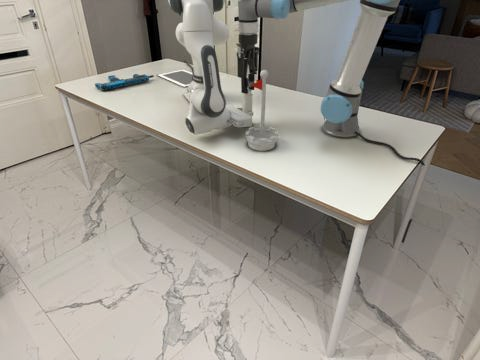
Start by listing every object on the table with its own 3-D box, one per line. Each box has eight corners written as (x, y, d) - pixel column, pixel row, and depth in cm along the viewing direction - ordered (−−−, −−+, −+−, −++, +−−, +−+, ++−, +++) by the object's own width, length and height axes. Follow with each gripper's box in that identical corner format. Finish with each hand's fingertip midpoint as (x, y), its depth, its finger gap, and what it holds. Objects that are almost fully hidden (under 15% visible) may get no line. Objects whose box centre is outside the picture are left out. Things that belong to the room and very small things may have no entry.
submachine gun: (139, 68, 225) (158, 74, 208) (140, 74, 226) (158, 80, 210) (87, 78, 206) (103, 86, 189) (89, 84, 208) (104, 92, 191)
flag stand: (269, 135, 146) (272, 63, 129) (283, 148, 135) (289, 72, 119) (241, 140, 142) (241, 67, 125) (253, 154, 132) (254, 76, 115)
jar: (243, 122, 157) (243, 88, 148) (252, 123, 157) (253, 88, 148) (241, 126, 154) (241, 91, 145) (250, 127, 153) (251, 92, 144)
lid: (243, 87, 142) (243, 82, 141) (240, 84, 147) (240, 79, 145) (255, 86, 144) (255, 81, 142) (251, 83, 148) (251, 78, 147)
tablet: (157, 75, 221) (157, 74, 221) (183, 69, 232) (183, 69, 232) (184, 87, 201) (183, 86, 200) (211, 80, 212) (211, 79, 211)
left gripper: (235, 118, 137) (262, 111, 143) (210, 103, 151) (236, 97, 157) (235, 133, 140) (262, 125, 146) (211, 117, 155) (236, 110, 161)
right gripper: (251, 29, 142) (251, 84, 154) (227, 36, 129) (229, 95, 142) (267, 30, 138) (265, 87, 151) (244, 37, 126) (244, 98, 138)
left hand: (248, 111), depth 152 cm, fingers closed on jar, 4 cm apart
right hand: (248, 91), depth 146 cm, fingers closed on lid, 5 cm apart
